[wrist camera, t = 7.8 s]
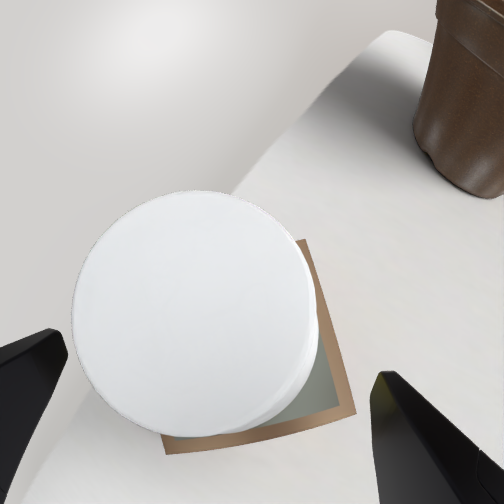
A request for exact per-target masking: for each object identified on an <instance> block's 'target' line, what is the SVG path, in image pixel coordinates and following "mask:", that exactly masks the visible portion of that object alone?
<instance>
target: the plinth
mask: <svg viewBox="0 0 504 504" xmlns="http://www.w3.org/2000/svg"><path fill="white" fill-rule="evenodd" d="M295 242H296V243H297V245H298V246H299V248H300V249H301V251H302V253H303V256H304V258H305V260H306V262H307V264H308V266H309V269H310V272H311V276H312V279H313V283H314V287H315V296H316V313H317V318H318V327H319V334H318V347H317V353H316V357H315V361H314V364H313V367H312V370H311V372H310V374H309V377H308V379H307V381H306V383H305V384H304V386H303V388H302V389H301V390H300V392H299V393H298V395H297V396H296V397H295V398H294V400H293V401H292V402H291V403H290V404H289V405H288V406H287V407H286V408H285V409H284V410H282V411H281V412H280V413H279V414H277V415H276V416H274V417H273V418H271V419H270V420H268V421H266V422H264V423H262V424H260V425H258V426H256V427H253V428H250V429H248V430H245V431H241V432H237V433H230V434H217V435H213V436H206V437H175V436H170V435H164V434H161V438H162V442H163V445H164V449H165V453H166V455H168V454H180V453H190V452H199V451H207V450H214V449H221V448H227V447H233V446H239V445H244V444H249V443H254V442H259V441H264V440H269V439H273V438H277V437H281V436H286V435H289V434H293V433H297V432H301V431H305V430H308V429H312V428H315V427H318V426H322V425H325V424H328V423H331V422H334V421H338V420H341V419H344V418H346V417H349V416H352V415H355V414H357V413H356V409H355V405H354V401H353V397H352V393H351V390H350V386H349V382H348V378H347V374H346V371H345V367H344V363H343V360H342V356H341V353H340V349H339V346H338V342H337V339H336V335H335V332H334V328H333V325H332V321H331V318H330V315H329V311H328V308H327V305H326V302H325V298H324V295H323V292H322V289H321V286H320V282H319V279H318V276H317V273H316V270H315V267H314V264H313V261H312V258H311V255H310V252H309V249H308V246H307V243H306V240H305V239H302V240H298V241H295Z"/></svg>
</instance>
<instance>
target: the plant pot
mask: <svg viewBox="0 0 504 504" xmlns="http://www.w3.org/2000/svg"><path fill="white" fill-rule="evenodd" d="M435 15H436V18H437V19H438V23H437V29H436V33H435V39H434V44H433V49H432V54H431V58H430V62H429V66H428V71H427V74H426V78H425V82H424V86H423V90H422V93H421V97H420V100H419V104H418V107H417V110H416V113H415V116H414V120H413V130H414V135H415V138H416V140H417V142H418V144H419V146H420V148H421V150H422V151H424V152H427V153H428V154H429V156H430V157H431V159H432V161H433V163H434V166H435V168H436V169H437V170H438V171H439V172H440V173H441V174H442V175H443V176H445V177H446V178H447V179H448V180H450V181H451V182H452V183H454V184H455V185H456V186H458V187H460V188H461V189H463V190H465V191H467V192H469V193H471V194H473V195H476V196H479V197H482V198H491V199H493V198H496V197H498V196H500V195H502V194H504V0H437V5H436V13H435Z"/></svg>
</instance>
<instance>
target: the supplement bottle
mask: <svg viewBox="0 0 504 504" xmlns="http://www.w3.org/2000/svg"><path fill="white" fill-rule="evenodd" d="M71 324H72V336H73V341H74V345H75V348H76V352H77V356H78V359H79V361H80V364H81V366H82V368H83V371H84V373H85V374H86V376H87V378H88V379H89V381H90V383H91V384H92V386H93V387H94V389H95V390H96V391H97V392H98V394H99V395H100V396H101V397H102V398H103V399H104V400H105V401H106V402H107V404H108V405H109V406H110V407H111V408H113V409H114V410H115V411H116V412H117V413H119V414H120V415H122V416H123V417H125V418H126V419H128V420H130V421H132V422H133V423H135V424H137V425H139V426H141V427H143V428H146V429H148V430H150V431H153V432H157V433H160V434H164V435H170V436H175V437H206V436H213V435H217V434H230V433H237V432H241V431H245V430H248V429H250V428H253V427H256V426H258V425H260V424H262V423H264V422H266V421H268V420H270V419H271V418H273V417H274V416H276V415H277V414H279V413H280V412H281V411H282V410H284V409H285V408H286V407H287V406H288V405H289V404H290V403H291V402H292V401H293V400H294V398H295V397H296V396H297V395H298V393H299V392H300V390H301V389H302V388H303V386H304V384H305V383H306V381H307V379H308V377H309V374H310V372H311V370H312V367H313V364H314V361H315V357H316V353H317V347H318V334H319V327H318V318H317V313H316V296H315V287H314V283H313V279H312V276H311V272H310V269H309V266H308V264H307V262H306V260H305V258H304V256H303V253H302V251H301V249H300V248H299V246H298V245H297V243H296V242H295V241H294V239H293V238H292V236H291V235H290V234H289V233H288V231H287V230H286V229H285V228H284V227H283V225H281V224H280V223H279V222H278V221H277V220H276V219H275V218H274V217H272V216H271V215H270V214H269V213H267V212H266V211H264V210H263V209H261V208H259V207H258V206H256V205H254V204H252V203H250V202H248V201H246V200H244V199H242V198H239V197H235V196H232V195H229V194H225V193H220V192H215V191H204V190H191V191H182V192H175V193H170V194H166V195H163V196H160V197H157V198H154V199H152V200H149V201H147V202H144V203H142V204H140V205H138V206H136V207H135V208H133V209H132V210H130V211H128V212H127V213H125V214H124V215H123V216H121V217H120V218H119V219H117V220H116V221H115V222H114V223H113V224H112V225H111V226H110V227H109V228H108V229H107V230H106V231H105V232H104V233H103V234H102V235H101V237H100V238H99V239H98V241H97V242H96V243H95V244H94V246H93V247H92V249H91V250H90V253H89V254H88V256H87V258H86V259H85V261H84V264H83V266H82V269H81V271H80V273H79V276H78V279H77V282H76V286H75V290H74V295H73V301H72V312H71Z"/></svg>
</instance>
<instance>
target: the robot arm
mask: <svg viewBox="0 0 504 504" xmlns="http://www.w3.org/2000/svg"><path fill="white" fill-rule="evenodd" d="M67 358H68V351H67V349H66V346H65V343H64V340H63V337H62V334H61V333H60V332H59V331H58V330H54V329H50V328H48V329H45V330H43V331H40V332H38V333H35V334H33V335H30V336H28V337H25V338H23V339H20V340H18V341H15V342H13V343H10V344H8V345H5V346H3V347H0V504H4V502H5V499H6V497H7V493H8V490H9V488H10V485H11V483H12V480H13V478H14V476H15V473H16V471H17V468H18V466H19V464H20V461H21V458H22V456H23V454H24V452H25V450H26V447H27V446H28V443H29V441H30V439H31V437H32V435H33V433H34V430H35V429H36V427H37V424H38V422H39V420H40V418H41V416H42V414H43V412H44V410H45V408H46V407H47V405H48V403H49V401H50V399H51V397H52V394H53V392H54V390H55V387H56V385H57V382H58V379H59V377H60V375H61V373H62V370H63V368H64V366H65V364H66V361H67ZM370 412H371V430H372V449H373V457H374V464H375V470H376V477H377V485H378V493H379V501H380V504H504V470H503V469H502V468H501V467H500V466H499V465H497V464H496V463H495V462H494V461H493V460H492V459H491V458H489V457H488V456H487V455H486V454H485V453H484V452H483V451H482V450H479V447H477V446H476V445H475V444H474V443H473V442H472V441H471V440H470V439H469V438H468V437H467V436H466V435H465V434H463V433H462V432H461V431H460V430H459V429H458V428H457V427H456V426H455V425H454V424H453V423H451V422H450V421H449V420H448V419H447V418H446V417H445V416H444V415H443V414H442V413H441V412H439V411H438V410H437V409H436V408H435V407H434V406H433V405H432V404H431V403H430V402H429V401H427V400H426V399H425V398H424V397H423V396H422V395H421V394H420V393H419V392H418V391H417V390H415V389H414V388H413V387H412V386H411V385H410V384H409V383H408V382H407V381H406V380H404V379H403V378H402V377H401V376H400V375H399V374H398V373H397V372H395V371H381V372H380V373H379V374H378V376H377V378H376V381H375V384H374V386H373V389H372V391H371V394H370Z"/></svg>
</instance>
